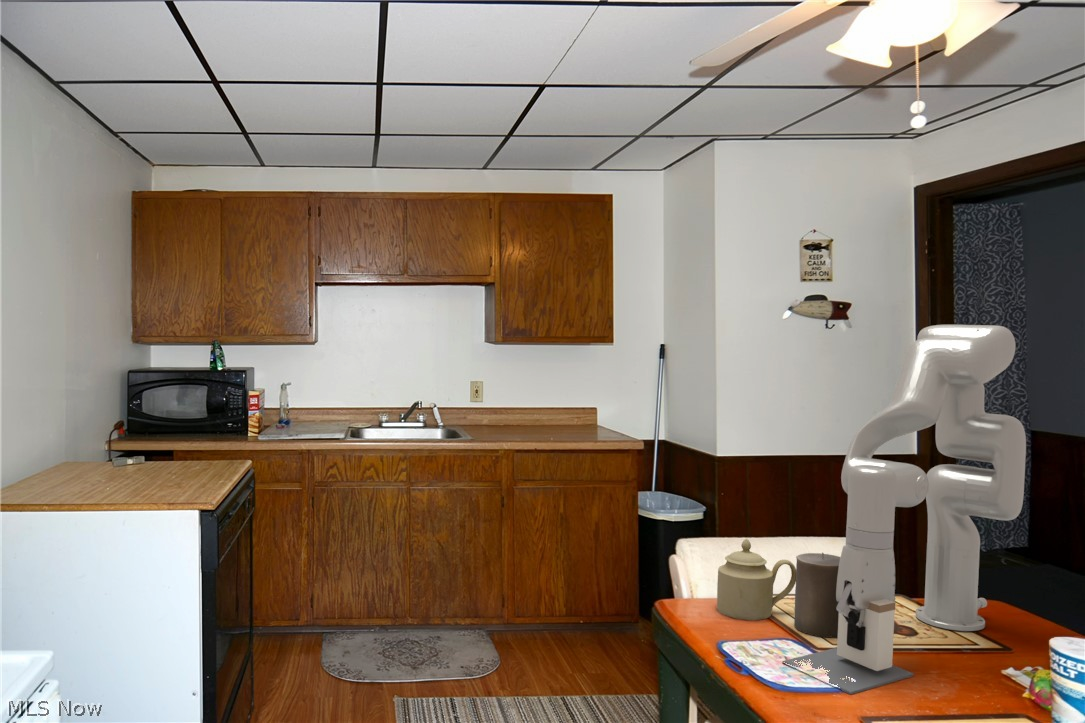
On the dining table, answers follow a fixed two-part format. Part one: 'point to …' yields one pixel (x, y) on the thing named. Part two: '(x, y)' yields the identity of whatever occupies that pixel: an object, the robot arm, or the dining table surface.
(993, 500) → the robot arm
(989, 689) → the dining table surface
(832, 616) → the pillar candle
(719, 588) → the sugar bowl
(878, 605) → the slab
